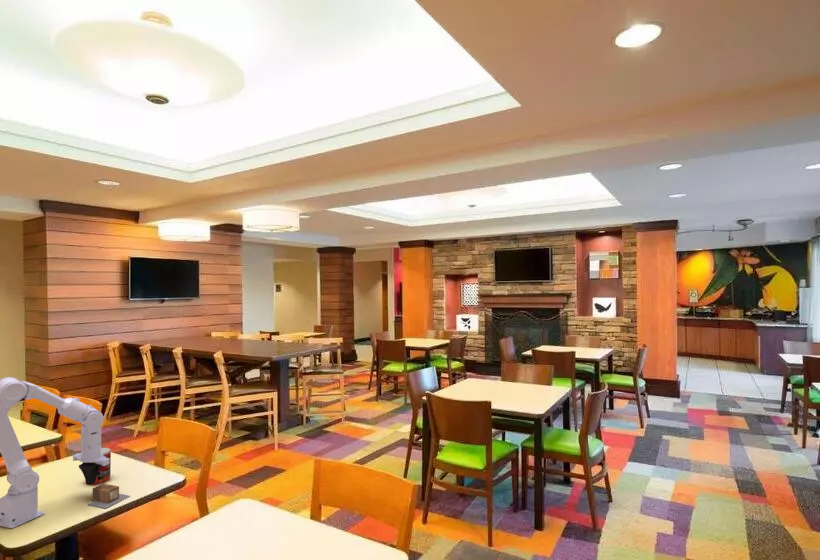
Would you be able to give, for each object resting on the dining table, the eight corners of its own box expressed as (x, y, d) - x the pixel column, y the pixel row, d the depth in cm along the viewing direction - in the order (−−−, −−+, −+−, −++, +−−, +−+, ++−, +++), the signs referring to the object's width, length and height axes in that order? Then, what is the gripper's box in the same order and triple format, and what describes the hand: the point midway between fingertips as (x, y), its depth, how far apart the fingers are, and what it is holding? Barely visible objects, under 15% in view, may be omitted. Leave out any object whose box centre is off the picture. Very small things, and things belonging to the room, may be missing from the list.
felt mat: (105, 509, 150) (105, 508, 150) (87, 505, 152) (87, 504, 152) (130, 496, 158) (130, 495, 158) (112, 493, 161) (112, 492, 161)
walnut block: (92, 500, 155) (108, 503, 153) (92, 488, 155) (108, 491, 153) (103, 494, 159) (119, 498, 157) (103, 483, 159) (119, 486, 157)
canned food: (101, 485, 167) (101, 455, 167) (79, 485, 167) (79, 455, 167) (115, 476, 174) (115, 447, 174) (94, 476, 174) (94, 447, 174)
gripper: (117, 442, 160) (117, 481, 160) (86, 437, 164) (86, 475, 164) (98, 449, 153) (98, 490, 153) (66, 444, 157) (66, 484, 157)
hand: (91, 483), depth 158 cm, fingers closed
